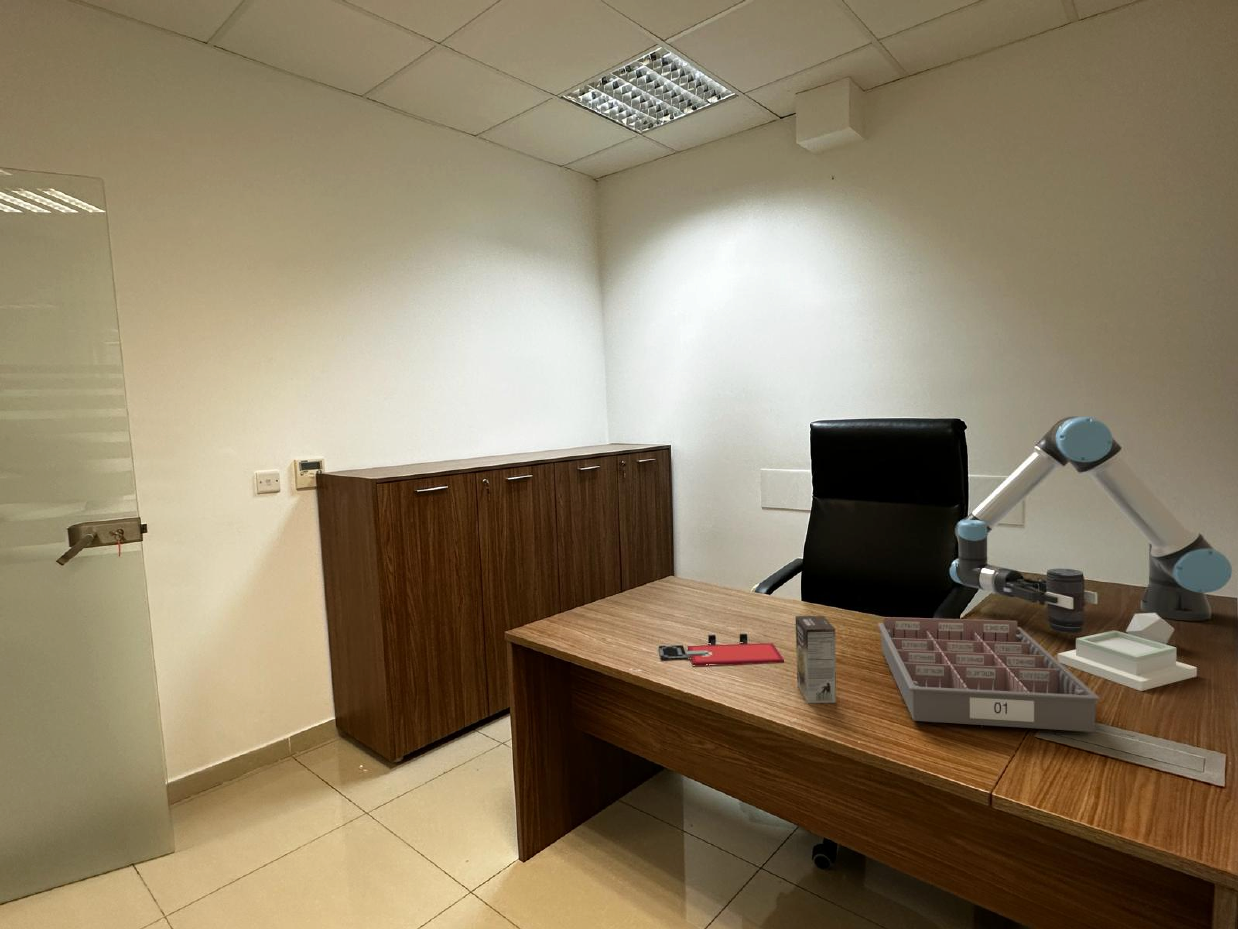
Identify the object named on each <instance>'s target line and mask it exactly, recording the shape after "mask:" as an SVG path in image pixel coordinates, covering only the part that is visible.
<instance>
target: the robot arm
mask: <svg viewBox="0 0 1238 929" xmlns="http://www.w3.org/2000/svg"><path fill="white" fill-rule="evenodd" d="M1122 452H1123V447H1122V446H1121V445H1120V444H1119V443H1118V442H1117V440H1116V439H1114V437H1113V434H1112V432H1111V430H1110V428H1109V427H1108V426H1107V425H1106V423H1104V422H1102V421H1101V420H1099V419H1096V418H1093V417H1089V416H1069V417H1065V418H1062V419H1060V420H1058V421H1057V422H1056V423H1054V424H1053V425H1052V426H1051V427H1050V429H1049V430H1048V431H1047V432H1046V433H1045V434H1044V435H1043V436H1042V438H1041V439H1040V440H1039V441H1038V442H1037V443H1036V444H1035V445H1034V446H1033V452H1032V453H1031V454H1030V455H1029V456H1027V457H1026V458H1025V460H1024V461H1022V463H1021V464H1020V465H1018V466H1017V467H1016V469H1014V471H1012V473H1010V474H1009V475H1008V476H1007V477H1006V479H1004V480H1003V481H1002V482H1001V483H1000V484H999V485H998V486H997V487H996V488H995V489H994V490H993V491H992V492H991V493H990V494H989V495H988V496H987V497H986V498H985V499H984V500H982V501H981V503H980V504H978V505H977V506H976V507H975V509H973V511H971V513H970V514H968V515H967V516H966V517H965V518H963V519H961V520H960V521H958V522H957V524H956V526H955V528H954V534H955V537H956V538H957V542H958V544H957V545H958V546H957V547H958V557H957V558H956V559H955V560H953V561H952V563H951V566H950V567H949V575H950V578H951V579H952V580H953V582H955V583H958V584H961V585H964V586H966V587H971V588H976V589H979V590H983V591H987V592H991V594H992V595H995V594H999V595H1001V596H1005V597H1007V598H1008V597H1009V598H1018V599H1022V600H1025V601H1028V602H1030V603H1035V604H1036V603H1038V604H1039V606H1045V604H1047V603H1050V604H1053V605H1057V606H1061V607H1065V608H1069V609H1073V598H1072V597H1068V596H1063V595H1059V594H1055V593H1051V592H1047V589H1046V579H1045V578H1040V577H1038V578H1036V579H1032V578H1029V577H1024V575H1022V572H1020V571H1018V570H1015V569H1012V568H1011V569H1010V568H1005V567H1002V566H998V565H994V564H989V563H988V557H989V556H988V535H989V533H990V532H991V531H992V530H993V529H994V528H995V527H996V526H997V525H998V524H999V523H1001V522H1002V521H1003V520H1004V518H1006V517H1007V516H1009V514H1010V513H1011V512H1012V511H1013V510H1014V509H1015V508H1016V507H1017V506H1019V505H1020V503H1022V502H1023V501H1024V500H1025V499H1026V498H1027V497H1028V496H1029V495H1030V494H1031V493H1033V491H1034V490H1036V488H1038V487H1039V486H1040V485H1041V484H1042V483H1044V481H1045V480H1046V479H1047V478H1048V477H1049V476H1050V475H1051V474H1052V473H1054V472H1055V471H1056V469H1059V468H1060V469H1062V468H1064V467H1065V466H1066V465H1068V464H1070V465H1071V466H1072V467H1073V468H1074V469H1075V471H1077V473H1078V474H1080V475H1087V476H1090V478H1091V479H1092V480H1093V481H1094V483H1096V485H1097V486H1098V487H1099V488H1100V489H1101V491H1103V493H1104V494H1106V495H1105V496H1107V497H1108V498H1109V499H1110V500H1111V501H1112V503H1113V504H1114V505H1115V506H1116V507H1117V508H1118V510H1120V512H1121V513H1122V514H1123V515H1124V516H1125V517H1126V519H1127V520H1128V521H1129V522H1130V523H1131V524H1132V525H1133V526H1134V527H1135V528H1136V529H1137V530H1138V531H1139V533H1140V534H1141V535H1142V536H1143V537H1144V538H1145V540H1146V541H1147V542H1148V545H1149V546H1148V547H1149V548H1148V550H1149V551H1148V553H1149V554H1148V584H1147V587H1146V589H1145V591H1144V594H1143V596H1142V597H1141V600H1140V610H1141V611H1142V612H1143V613H1156V614H1157V615H1158V616H1160V617H1161V618H1162V619H1163V618H1165V619H1171V620H1177V621H1190V622H1191V621H1192V622H1193V621H1195V622H1196V621H1197V622H1198V621H1207V619H1208V620H1210V619H1211V617H1212V609H1211V607H1210V606H1211V605H1210V603H1209V600H1208V597H1207V595H1206V594H1208V593H1213V592H1216V591H1218V590H1220V589H1222V588H1223V587H1224V586H1226V585H1227V584H1228V583H1229V581H1230V580H1231V578H1232V574H1233V567H1232V564H1231V562H1230V560H1229V559H1228V558H1227V557H1226V556H1225V554H1224V553H1221V552H1220V551H1218V550H1216V549H1215V548H1214V547H1213V546H1212V545H1211V544H1210V543H1209V542H1208V541H1207V539H1206V538H1205V537H1204V535H1203V534H1202V533H1200V532H1199V531H1198V530H1197V529H1191V528H1186V527H1185V525H1184V524H1183V523H1182V522H1181V521H1180V520H1179V519H1178V517H1177V516H1175V514H1174V513H1173V512H1172V511H1171V510H1170V509H1169V508H1168V507H1167V506H1166V504H1165V503H1164V502H1163V501H1162V500H1161V499H1160V498H1159V497H1158V496H1157V494H1156V493H1155V492H1154V491H1153V490H1152V489H1151V488H1150V487H1149V486H1148V485H1147V483H1146V482H1145V481H1144V480H1143V479H1142V478H1141V477H1140V475H1138V474H1137V472H1135V470H1134V469H1133V468H1132V467H1131V466H1130V464H1128V463H1127V461H1125V459H1124V458H1123V457H1122ZM1205 593H1206V594H1205ZM1084 599H1085V603H1088V604H1094V605H1097V604H1098V592H1094V591H1091V590H1085V591H1084Z"/></svg>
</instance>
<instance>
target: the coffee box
mask: <svg viewBox="0 0 1238 929" xmlns="http://www.w3.org/2000/svg"><path fill="white" fill-rule="evenodd" d="M795 639H796V640H795V642H796V644H795V646H796V648H795V650H796V678H797V680H796V681H797V682H796V683H797V687H798V689H799V691H800V693H801V694H802V697H803V698H804V700H805V702H806V703H807V704H830V703H831V704H834V703H836V702H837V677H836V676H837V675H836V674H837V672H836V671H837V667H836V666H837V662H836V661H837V657H836V656H837V655H836V654H837V653H836V651H837V650H836V649H837V648H836V628H835V627H834V626H833V624H831V623H830V622H829V620H827V618H826V617H825V616H824V615H796V616H795Z"/></svg>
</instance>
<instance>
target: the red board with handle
mask: <svg viewBox="0 0 1238 929" xmlns="http://www.w3.org/2000/svg"><path fill="white" fill-rule="evenodd" d="M707 637H708V638H707V641H708V643H711V645H709V644H708V645H707V644H705V645H704V644H703V645H687V647H686V648H688V650H685V647H684V645H681V644H680V645H677V644H675V645H658V650H659V655H660V659H682V658H683V659H684V658H686V657H687V658H691V659H690V661H692V662H691V665H692V664H693V665H706V664H708V665H709V664H733V665H743V664H742V663H754V664H764V663H763V662H775V663H784V662H785V659H784V657H783V656H782V654H781V653H780V651H779V650H778V649H777V647H776V646H775V645H774V643H773V642H772V643H771V642H768V643H767V642H765V643H763V642H762V643H748V634H747V633H739V643H736V644H734V643H733V644H717V635H716V634H708V636H707ZM740 642H743V644H740ZM715 643H716V644H715ZM705 654H708V655H705ZM687 658H686V659H687ZM782 661H783V662H782ZM693 665H692V666H693Z"/></svg>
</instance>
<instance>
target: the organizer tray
mask: <svg viewBox="0 0 1238 929" xmlns="http://www.w3.org/2000/svg"><path fill="white" fill-rule="evenodd" d="M882 620H883V622H878V623H877V626H878V628H879V629H880V630H879V631H880V632H881V634H880V636H881V637H880V638H881V642H880V643H881V651H882V654H883V656H884V657H885V658H884V659H885V660H886V663H887V664H888V667H889V669H890V671H891V673H892V676H893V678H894V680H895V683H896V685H897V686H898V687H897V688H898V689H899V691H900V694H901V696H902V698H903V700H904V703H905V705H906V707H907V709H908V712H909V714H910V716H911V718H912V720H913V722H914V721H915V722H917V721H918V722H930V723H949V724H962V725H963V724H964V725H978V726H980V725H981V729H982V728H983V726H994V727H1010V728H1025V729H1040V730H1041V729H1042V730H1054V731H1055V730H1056V731H1057V730H1058V731H1059V730H1060V731H1073V732H1086V733H1087V732H1088V733H1089V732H1091V733H1092V732H1093V733H1095V732H1096V701H1102V699H1101V698H1100V697H1099V695H1097V694H1096V693H1095V692H1094V691H1093V690H1091V688H1090V687H1088V686H1087V685H1086V684H1085V683H1083V681H1082V680H1080V679H1079V678H1078V677H1077V676H1076V675H1074V673H1073V672H1071V671H1070V670H1069V669H1068V668H1067V667H1065V665H1064V664H1062V663H1060V662H1059V661H1058V659H1057V658H1055V657H1054V656H1053V655H1052V654H1051V653H1050V652H1049V651H1048V650H1046V648H1044V647H1043V646H1042V645H1040V643H1039V642H1037V641H1036V640H1035V639H1034V638H1033V637H1031V636H1030V634H1028V633H1027V632H1026V631H1025V630H1023V628H1022V627H1020V626H1018V621H1017V620H1002V619H1001V620H999V619H998V620H997V619H996V620H995V619H964V618H963V619H962V618H961V619H960V618H955V619H954V618H924V617H922V618H921V617H895V616H893V617H889V616H887V617H886V616H883V619H882Z"/></svg>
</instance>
